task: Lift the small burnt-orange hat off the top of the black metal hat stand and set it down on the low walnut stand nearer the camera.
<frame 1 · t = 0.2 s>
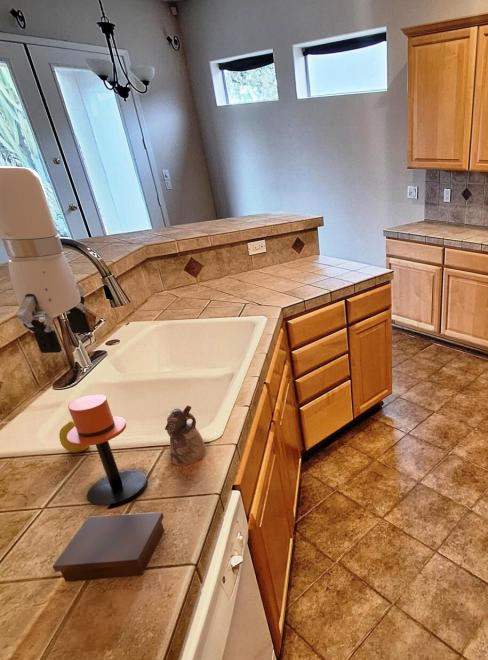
hand: (67, 341, 80), 28 cm above the counter, tool pointing down, fingers open, 9 cm apart
figurine: (188, 456, 95), on the counter
walnut stand: (118, 554, 71), on the counter
hat: (97, 431, 78), point 14 cm above the counter, touching hat stand
hat stand: (119, 491, 84), on the counter
lemon: (82, 453, 95), on the counter
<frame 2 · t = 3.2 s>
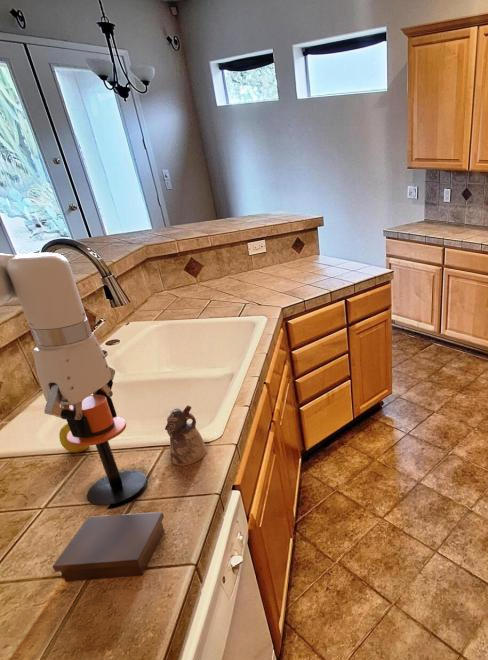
hand: (95, 425, 77), 15 cm above the counter, tool pointing down, fingers closed on hat, 5 cm apart
hat: (97, 431, 78), point 14 cm above the counter, touching gripper, hat stand
everything else where it was.
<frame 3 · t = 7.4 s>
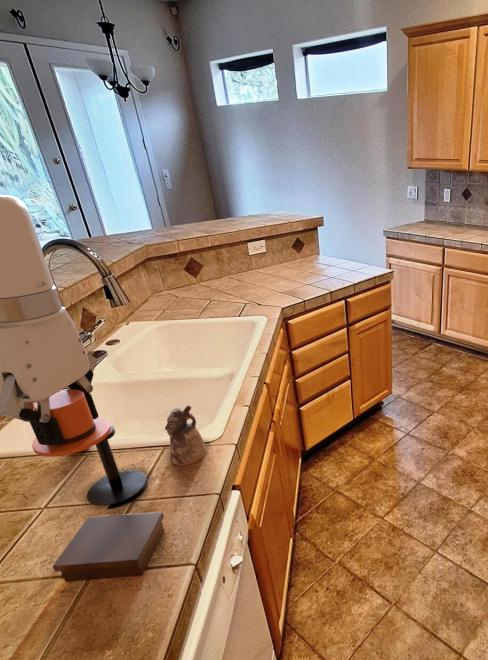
hand: (70, 429, 60), 25 cm above the counter, tool pointing down, fingers closed on hat, 5 cm apart
hat: (73, 437, 60), point 23 cm above the counter, touching gripper
everything else where it was.
when the fingers open (5 cm above the counter, at t = 12.0 s): hat stays where it is, resting on walnut stand.
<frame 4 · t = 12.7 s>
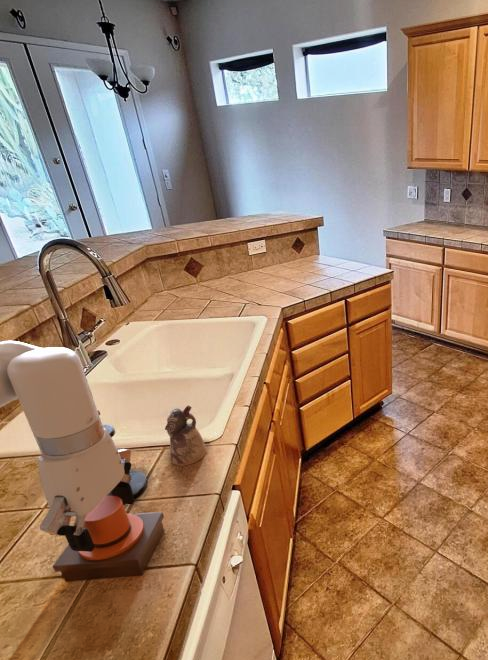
hand: (106, 524, 68), 7 cm above the counter, tool pointing down, fingers open, 9 cm apart
hat: (112, 537, 69), point 4 cm above the counter, touching walnut stand
everything else where it was.
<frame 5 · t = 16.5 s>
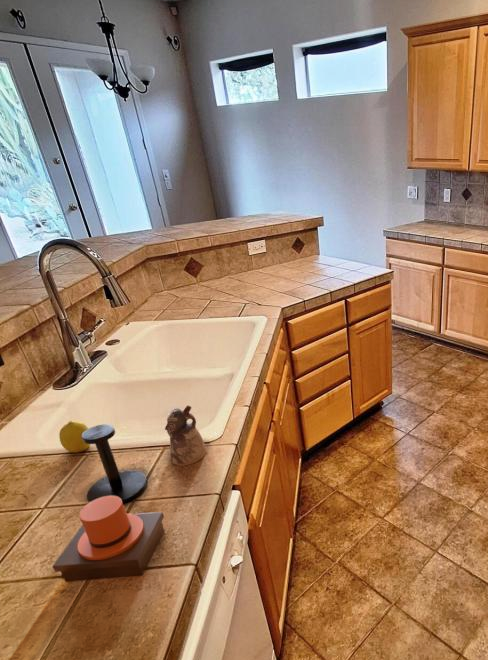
nothing on the counter moved.
at the end: hat inside the target area on the walnut stand (0.1 cm from its centre), point 4.0 cm above the walnut stand's base; hat tilted 0°; hat touching walnut stand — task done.
